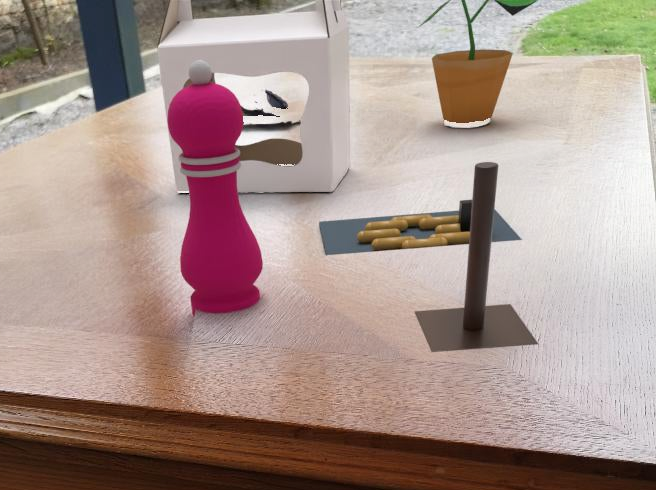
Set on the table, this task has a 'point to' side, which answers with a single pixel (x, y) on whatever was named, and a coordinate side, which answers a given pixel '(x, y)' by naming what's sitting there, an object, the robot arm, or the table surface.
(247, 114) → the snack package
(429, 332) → the peg stand
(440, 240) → the yellow rounded bars
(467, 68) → the potted plant
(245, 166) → the gable box
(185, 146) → the pepper mill
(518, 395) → the table surface
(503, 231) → the mat
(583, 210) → the table surface
